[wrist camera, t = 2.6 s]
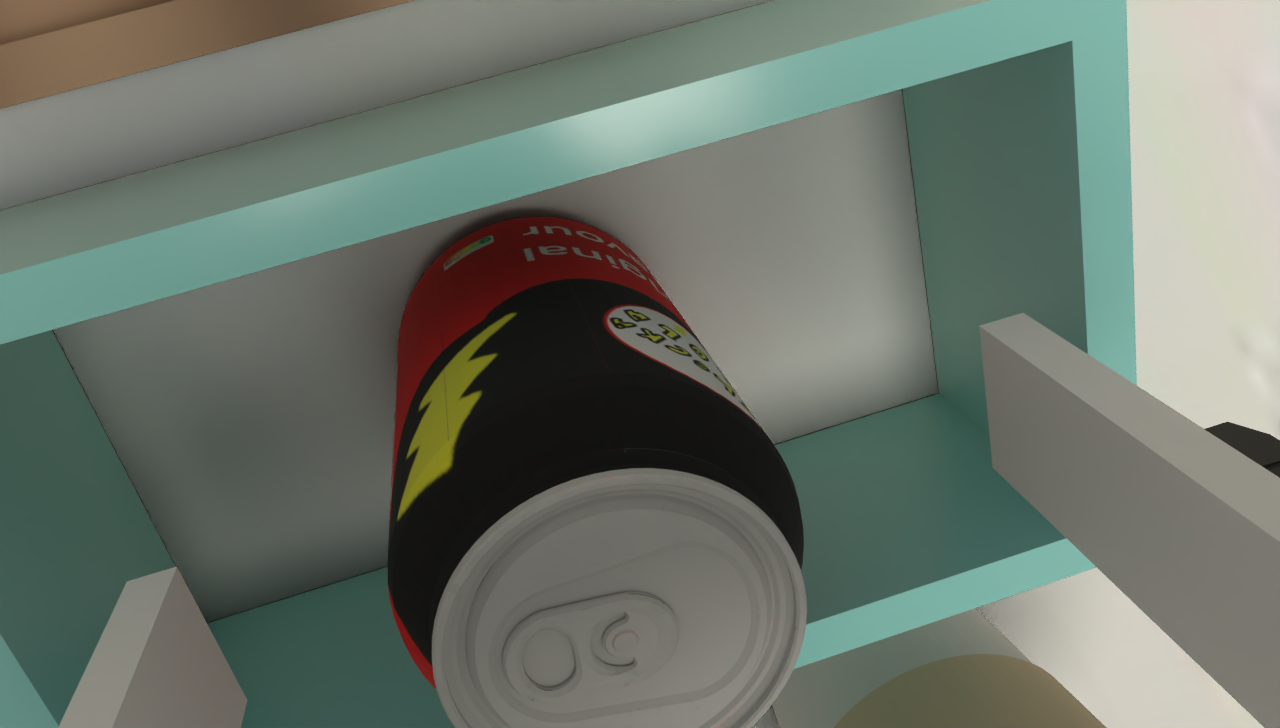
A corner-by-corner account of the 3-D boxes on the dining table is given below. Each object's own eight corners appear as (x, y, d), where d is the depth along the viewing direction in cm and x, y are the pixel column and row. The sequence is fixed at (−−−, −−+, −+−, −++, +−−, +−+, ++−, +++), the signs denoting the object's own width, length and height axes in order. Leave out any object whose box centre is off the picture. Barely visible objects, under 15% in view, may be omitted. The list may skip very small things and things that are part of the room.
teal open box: (182, 666, 26) (106, 900, 20) (-59, 226, 21) (-266, 348, 15) (976, 414, 28) (1141, 552, 22) (929, -42, 23) (1124, -38, 17)
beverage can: (676, 419, 26) (861, 758, 15) (432, 475, 25) (445, 873, 14) (640, 181, 24) (832, 382, 13) (368, 234, 23) (324, 498, 12)
